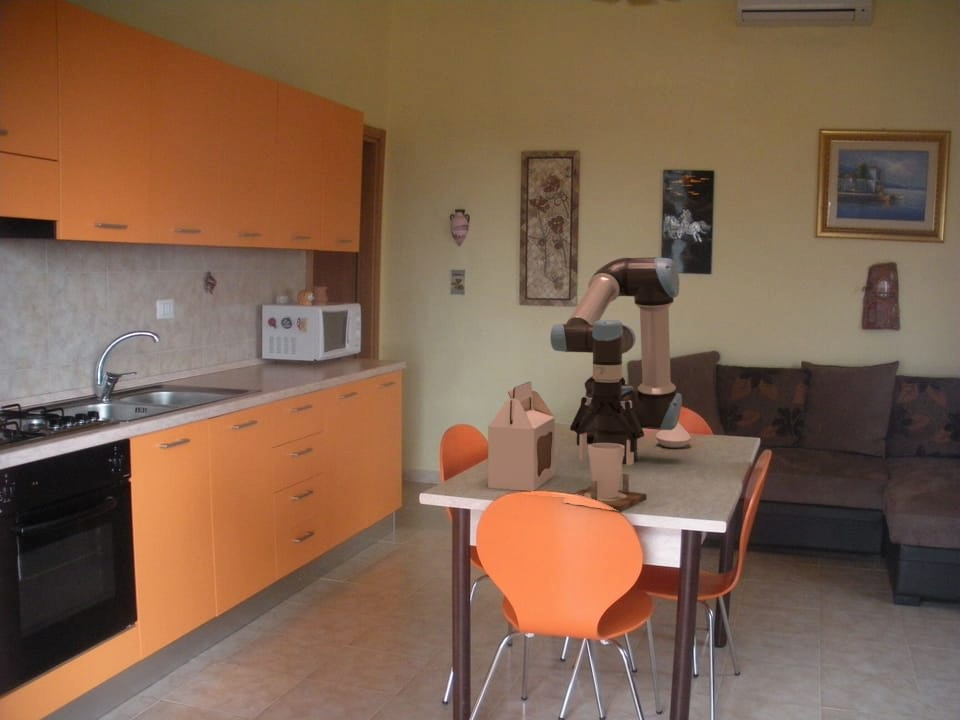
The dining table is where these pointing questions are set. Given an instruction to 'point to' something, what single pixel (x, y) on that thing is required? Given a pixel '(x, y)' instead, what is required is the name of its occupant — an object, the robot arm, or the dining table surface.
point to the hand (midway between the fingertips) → (606, 461)
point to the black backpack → (592, 427)
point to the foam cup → (606, 467)
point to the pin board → (623, 498)
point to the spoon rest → (673, 437)
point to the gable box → (521, 442)
